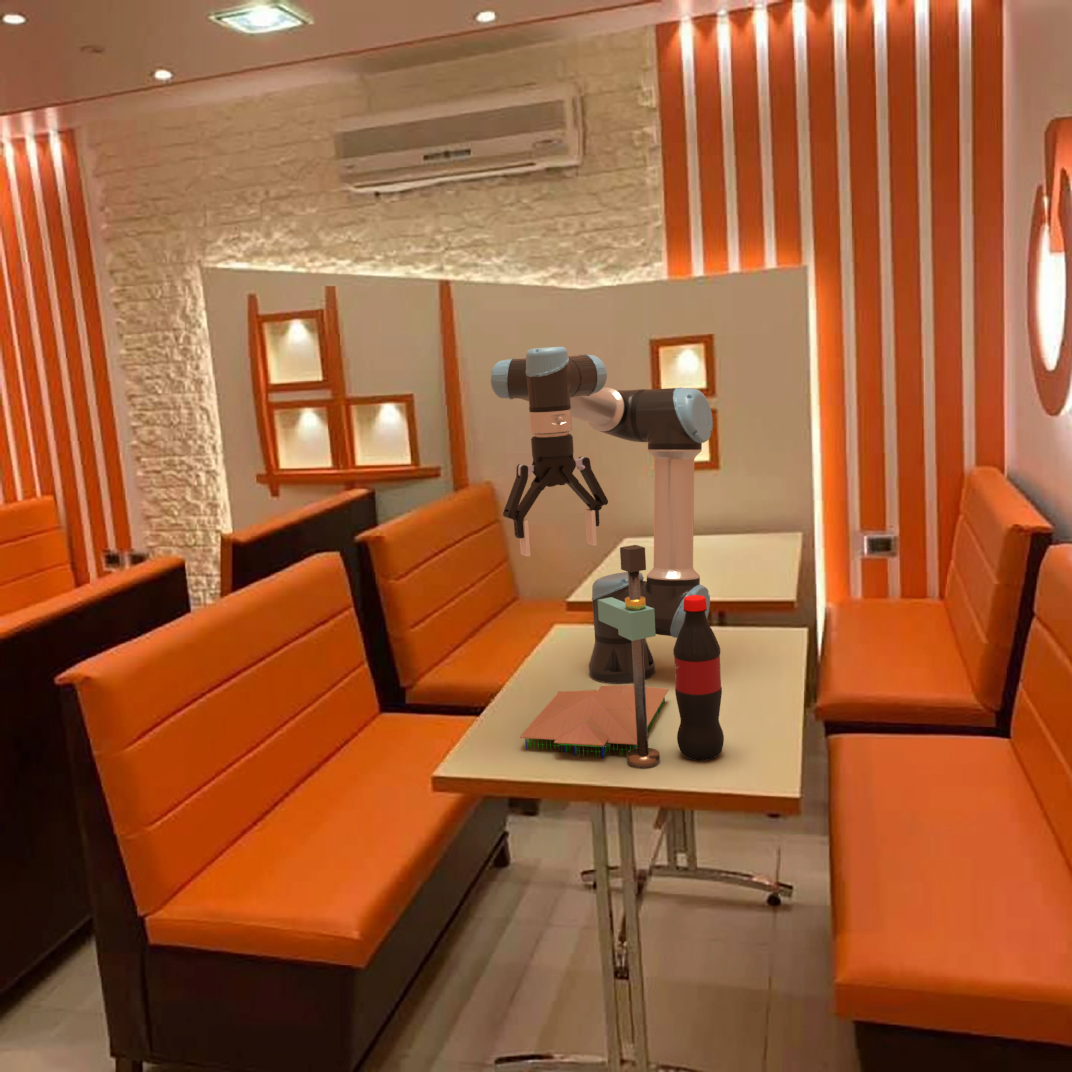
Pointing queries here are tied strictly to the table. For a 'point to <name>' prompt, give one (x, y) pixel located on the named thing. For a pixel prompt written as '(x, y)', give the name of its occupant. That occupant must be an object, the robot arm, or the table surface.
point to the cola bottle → (698, 684)
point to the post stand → (638, 659)
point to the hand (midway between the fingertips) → (559, 549)
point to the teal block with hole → (627, 619)
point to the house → (593, 718)
